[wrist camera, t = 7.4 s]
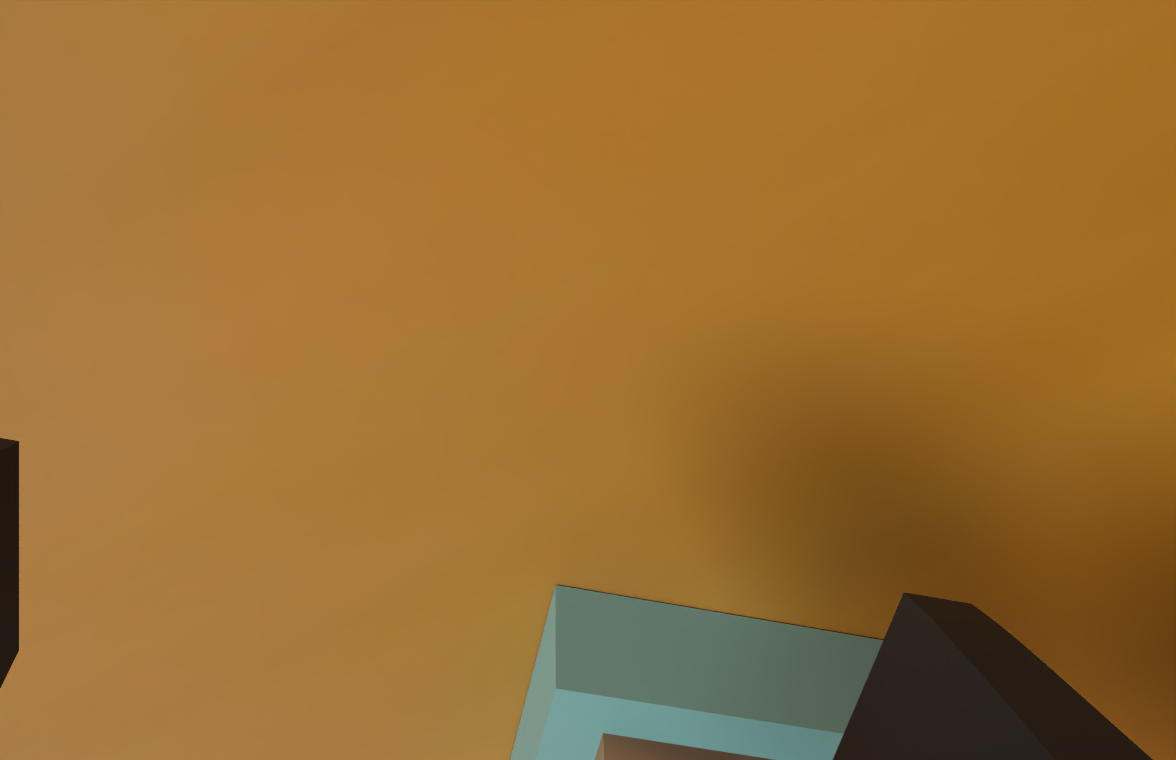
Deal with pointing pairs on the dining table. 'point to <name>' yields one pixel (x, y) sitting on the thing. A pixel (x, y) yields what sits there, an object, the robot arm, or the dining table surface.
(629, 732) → the teal plinth
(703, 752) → the walnut cube
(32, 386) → the dining table surface
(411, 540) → the dining table surface
